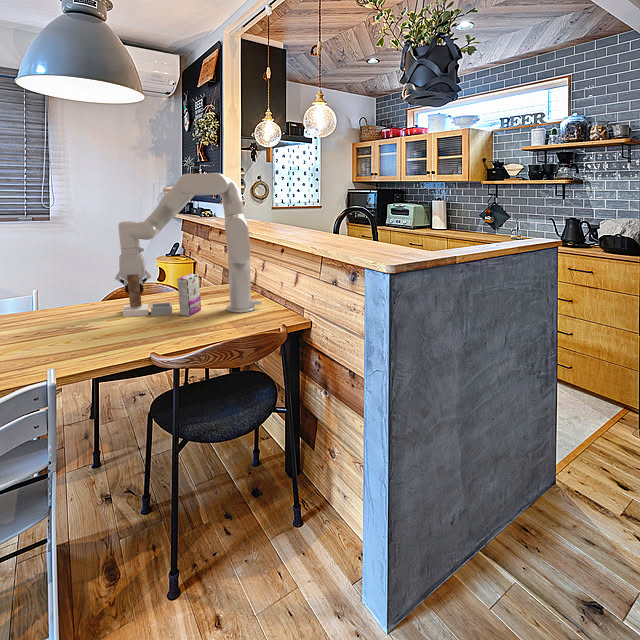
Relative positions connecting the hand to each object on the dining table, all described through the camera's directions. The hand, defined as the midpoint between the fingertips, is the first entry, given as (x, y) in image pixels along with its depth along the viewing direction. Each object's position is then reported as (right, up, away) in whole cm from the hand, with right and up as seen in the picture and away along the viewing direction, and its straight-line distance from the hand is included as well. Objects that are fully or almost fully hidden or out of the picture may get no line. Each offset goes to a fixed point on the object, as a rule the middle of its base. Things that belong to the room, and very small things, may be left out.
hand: (134, 293), depth 201 cm
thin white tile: (0, -8, +2) cm, 9 cm away
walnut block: (0, -5, +1) cm, 5 cm away
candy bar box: (+23, -9, +4) cm, 25 cm away
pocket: (+11, -8, +3) cm, 14 cm away
